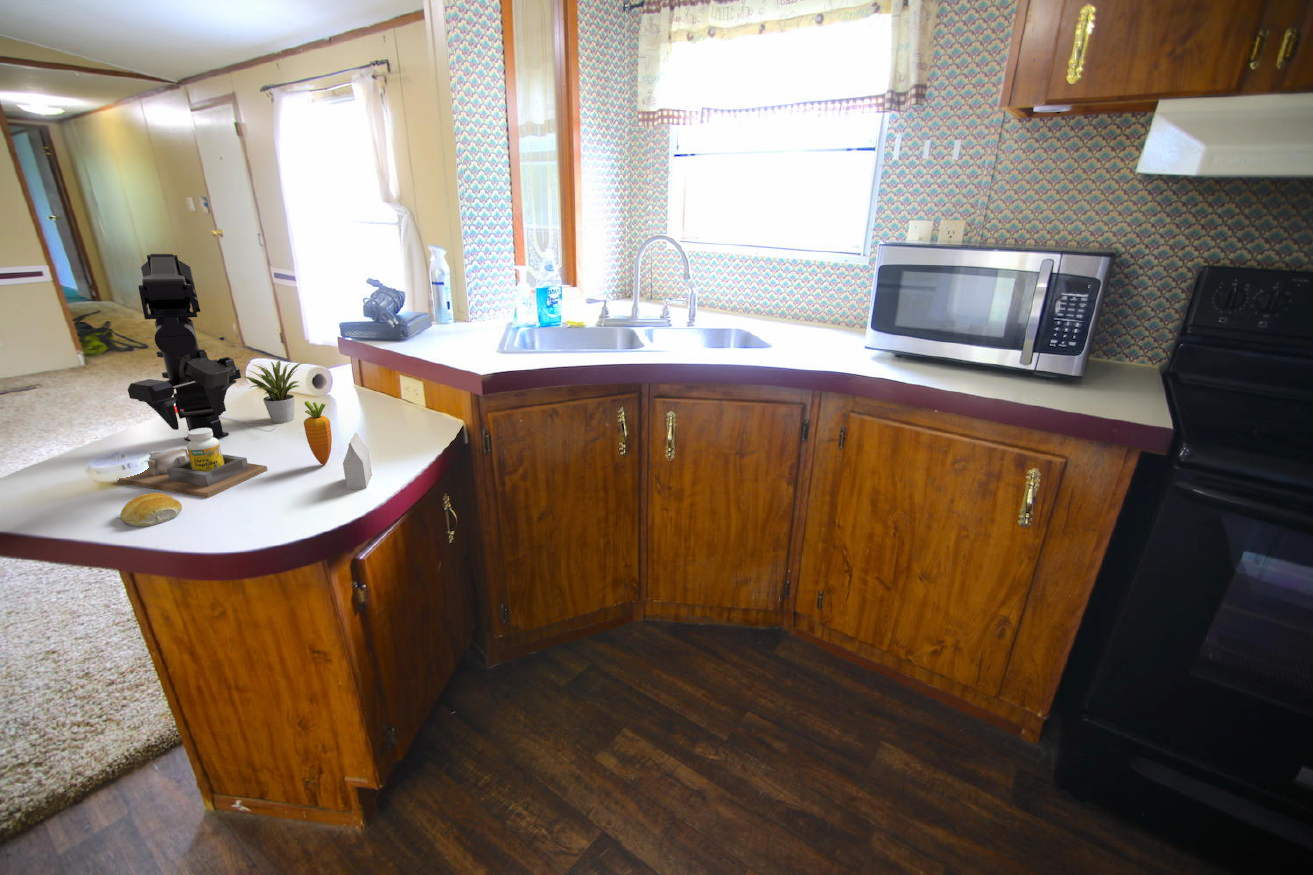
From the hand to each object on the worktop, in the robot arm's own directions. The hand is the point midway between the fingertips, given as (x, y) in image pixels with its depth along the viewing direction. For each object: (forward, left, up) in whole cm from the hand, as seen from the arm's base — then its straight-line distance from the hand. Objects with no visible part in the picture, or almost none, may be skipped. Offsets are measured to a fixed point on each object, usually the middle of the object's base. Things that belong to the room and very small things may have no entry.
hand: (197, 422), depth 119 cm
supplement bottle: (0, 0, -12) cm, 12 cm away
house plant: (-15, +36, -13) cm, 41 cm away
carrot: (+16, +13, -13) cm, 24 cm away
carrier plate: (-4, 0, -12) cm, 13 cm away
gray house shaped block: (+29, +8, -13) cm, 33 cm away
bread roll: (+5, -16, -13) cm, 21 cm away
